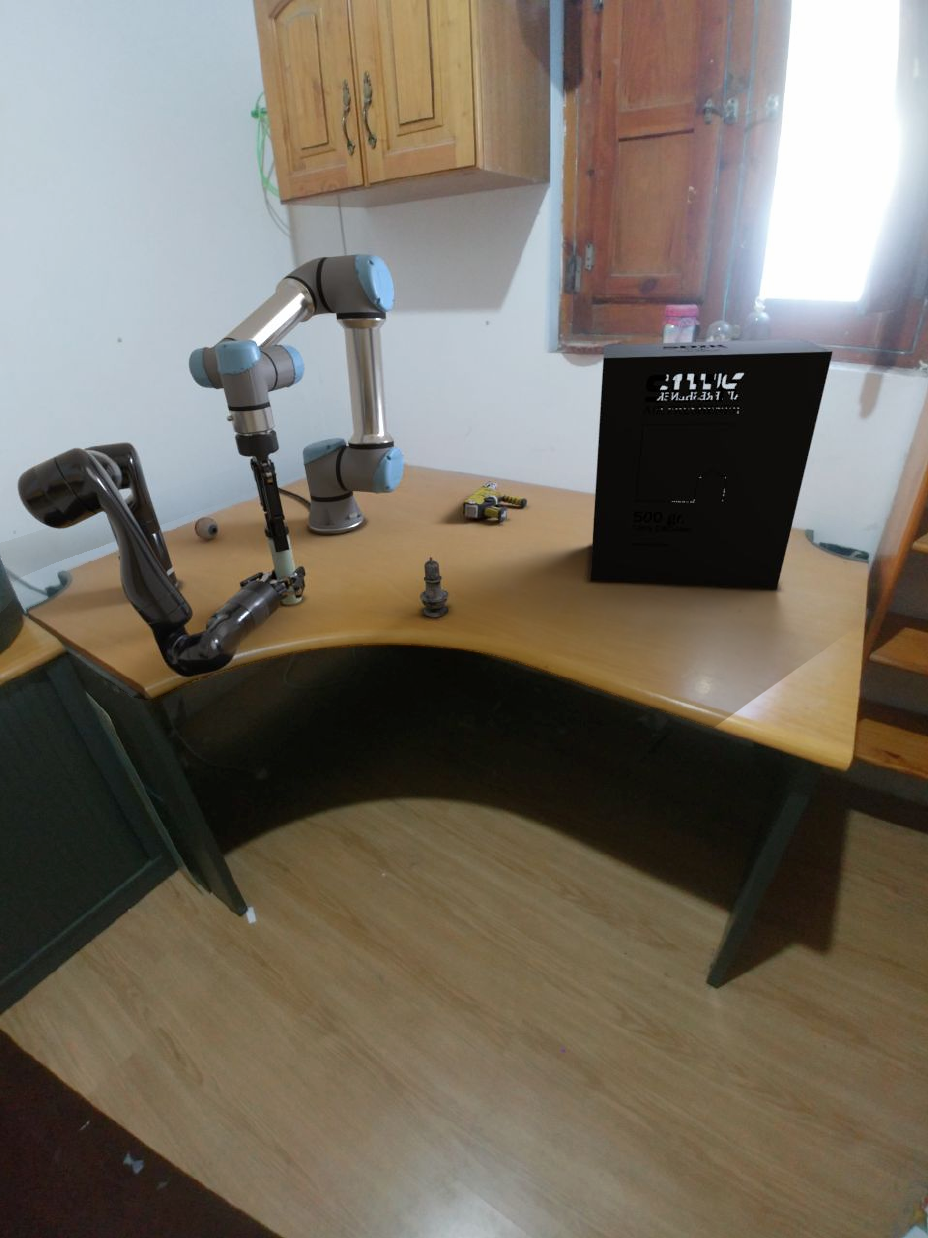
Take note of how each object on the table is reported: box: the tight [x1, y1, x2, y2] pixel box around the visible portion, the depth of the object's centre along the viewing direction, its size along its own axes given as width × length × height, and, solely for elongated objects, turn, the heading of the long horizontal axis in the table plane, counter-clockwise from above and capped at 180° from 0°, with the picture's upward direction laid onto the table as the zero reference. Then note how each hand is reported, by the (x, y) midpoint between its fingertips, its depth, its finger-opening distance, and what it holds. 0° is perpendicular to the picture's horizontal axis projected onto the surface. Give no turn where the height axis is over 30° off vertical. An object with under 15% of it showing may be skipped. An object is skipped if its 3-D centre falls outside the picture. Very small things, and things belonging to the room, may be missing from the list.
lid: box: [263, 521, 290, 539], centre depth 123 cm, size 5×5×2 cm
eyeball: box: [194, 516, 220, 541], centre depth 163 cm, size 6×6×6 cm
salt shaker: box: [419, 556, 450, 618], centre depth 120 cm, size 6×6×12 cm
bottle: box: [267, 534, 303, 606], centre depth 127 cm, size 4×4×16 cm
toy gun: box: [461, 480, 528, 523], centre depth 173 cm, size 5×24×15 cm
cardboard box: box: [589, 338, 834, 590], centre depth 125 cm, size 38×20×45 cm, turn 78°
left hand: (292, 569), depth 130 cm, fingers closed on bottle, 4 cm apart
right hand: (280, 545), depth 125 cm, fingers closed on lid, 4 cm apart
